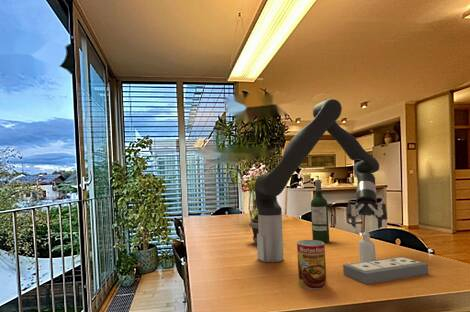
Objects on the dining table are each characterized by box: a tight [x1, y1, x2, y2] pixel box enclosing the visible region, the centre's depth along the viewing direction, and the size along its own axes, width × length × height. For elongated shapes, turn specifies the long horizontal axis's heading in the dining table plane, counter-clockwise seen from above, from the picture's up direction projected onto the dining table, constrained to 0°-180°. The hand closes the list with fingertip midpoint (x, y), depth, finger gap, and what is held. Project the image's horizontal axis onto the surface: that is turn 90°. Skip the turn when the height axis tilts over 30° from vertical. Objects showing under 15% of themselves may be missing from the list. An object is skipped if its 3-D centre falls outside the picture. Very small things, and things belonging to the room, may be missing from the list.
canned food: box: [296, 239, 328, 290], centre depth 89 cm, size 8×8×12 cm
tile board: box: [342, 256, 429, 285], centre depth 96 cm, size 24×10×3 cm, turn 108°
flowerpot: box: [248, 212, 259, 245], centre depth 147 cm, size 14×15×20 cm
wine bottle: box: [310, 179, 330, 244], centre depth 148 cm, size 8×8×30 cm
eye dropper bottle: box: [358, 229, 377, 263], centre depth 107 cm, size 4×6×12 cm
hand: (366, 226), depth 113 cm, fingers open, 8 cm apart
